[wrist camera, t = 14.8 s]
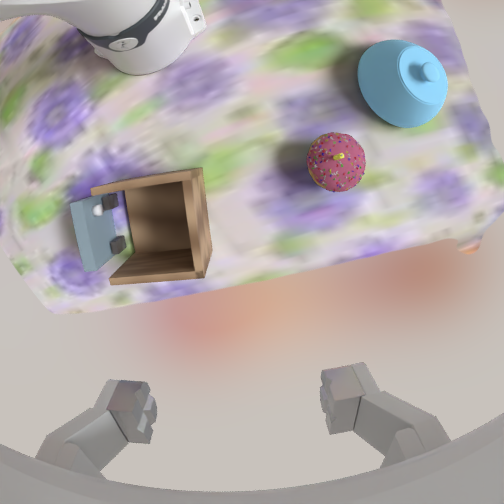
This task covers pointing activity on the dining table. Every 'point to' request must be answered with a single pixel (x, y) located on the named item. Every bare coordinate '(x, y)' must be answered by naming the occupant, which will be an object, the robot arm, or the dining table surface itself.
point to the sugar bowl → (402, 82)
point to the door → (93, 231)
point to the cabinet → (162, 226)
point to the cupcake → (336, 161)
